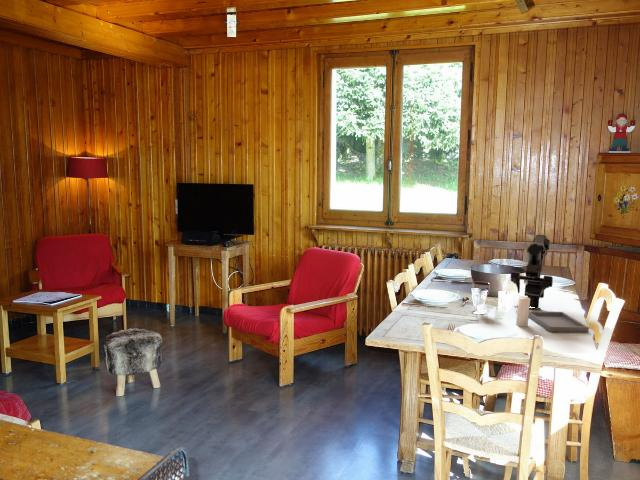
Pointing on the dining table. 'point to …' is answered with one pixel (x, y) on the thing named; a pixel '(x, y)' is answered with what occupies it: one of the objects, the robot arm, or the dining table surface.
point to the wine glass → (481, 286)
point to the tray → (557, 322)
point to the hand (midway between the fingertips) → (528, 294)
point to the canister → (523, 311)
